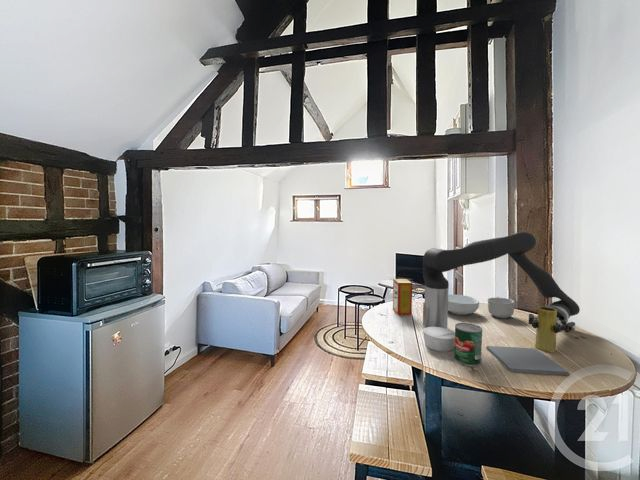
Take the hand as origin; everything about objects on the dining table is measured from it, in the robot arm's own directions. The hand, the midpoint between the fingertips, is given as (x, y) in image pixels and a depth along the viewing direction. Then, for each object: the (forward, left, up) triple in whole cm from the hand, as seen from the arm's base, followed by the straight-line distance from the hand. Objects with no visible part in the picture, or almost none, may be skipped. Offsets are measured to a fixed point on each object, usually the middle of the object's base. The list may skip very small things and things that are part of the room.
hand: (545, 327), depth 101 cm
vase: (+2, +2, -8) cm, 9 cm away
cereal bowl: (-14, +41, -8) cm, 44 cm away
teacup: (+4, +39, -8) cm, 40 cm away
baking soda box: (-42, +38, -8) cm, 57 cm away
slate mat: (-11, -9, -8) cm, 17 cm away
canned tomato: (-29, -11, -8) cm, 32 cm away
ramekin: (-35, -1, -8) cm, 36 cm away
